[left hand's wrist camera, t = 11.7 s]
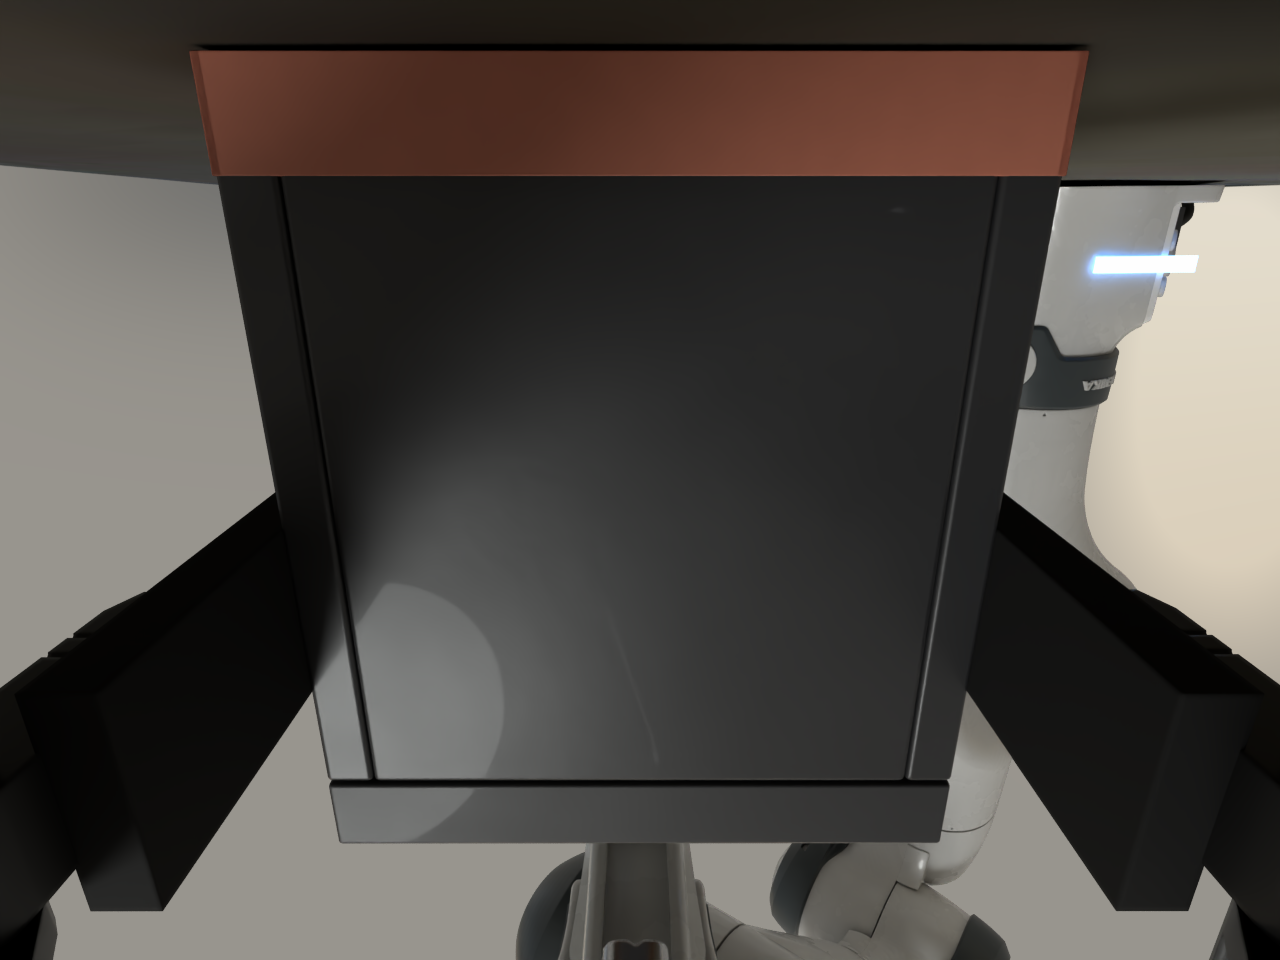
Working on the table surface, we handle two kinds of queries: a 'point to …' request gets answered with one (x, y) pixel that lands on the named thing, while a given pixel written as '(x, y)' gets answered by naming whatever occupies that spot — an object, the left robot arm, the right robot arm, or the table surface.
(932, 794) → the lid
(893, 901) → the right robot arm
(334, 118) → the chest
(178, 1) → the table surface
